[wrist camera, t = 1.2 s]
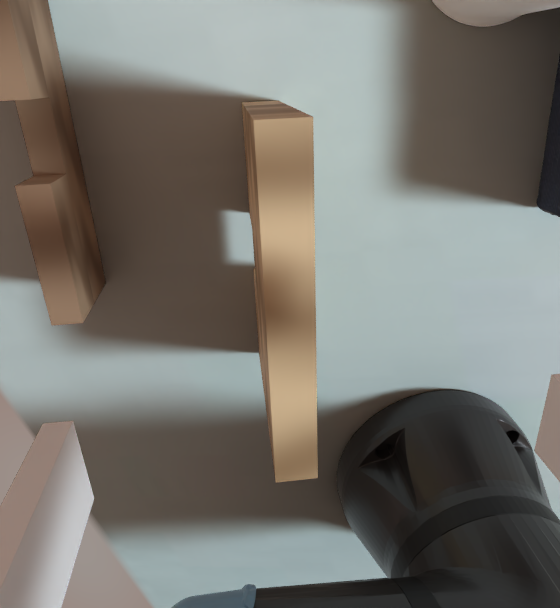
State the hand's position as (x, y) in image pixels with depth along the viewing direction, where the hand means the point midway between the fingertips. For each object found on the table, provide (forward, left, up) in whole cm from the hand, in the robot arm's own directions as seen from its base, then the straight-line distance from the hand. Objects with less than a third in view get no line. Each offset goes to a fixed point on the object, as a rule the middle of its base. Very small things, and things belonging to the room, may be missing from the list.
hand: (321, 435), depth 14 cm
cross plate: (0, 0, -19) cm, 19 cm away
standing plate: (+7, +11, -19) cm, 23 cm away
